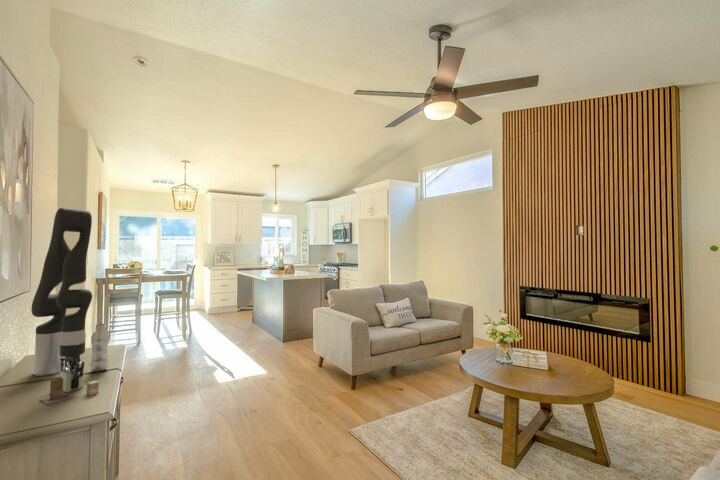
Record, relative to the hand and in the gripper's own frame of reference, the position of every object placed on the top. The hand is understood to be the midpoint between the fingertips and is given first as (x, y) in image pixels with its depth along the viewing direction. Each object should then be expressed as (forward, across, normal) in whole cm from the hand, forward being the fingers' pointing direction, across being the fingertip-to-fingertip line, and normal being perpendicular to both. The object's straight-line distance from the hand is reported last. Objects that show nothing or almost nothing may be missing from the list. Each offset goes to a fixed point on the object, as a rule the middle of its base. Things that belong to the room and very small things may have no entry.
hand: (71, 386), depth 132 cm
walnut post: (+1, +7, -7) cm, 10 cm away
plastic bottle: (+1, -13, +15) cm, 20 cm away
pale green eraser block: (+1, 0, 0) cm, 1 cm away
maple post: (+1, +12, +2) cm, 12 cm away
